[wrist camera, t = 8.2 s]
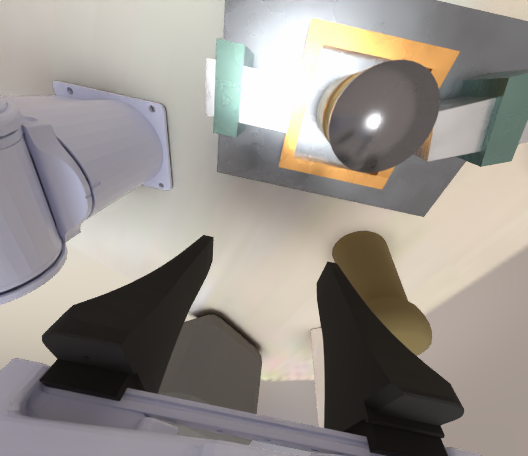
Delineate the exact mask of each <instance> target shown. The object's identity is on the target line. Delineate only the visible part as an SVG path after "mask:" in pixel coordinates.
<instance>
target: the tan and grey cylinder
mask: <svg viewBox="0 0 528 456" xmlns="http://www.w3.org/2000/svg"><path fill="white" fill-rule="evenodd" d="M439 107H440V93H439V88H438V84H437V82H436V80H435V78H434V76H433V75H432V73H431V72H430V71H429V70H428V69H427V68H426V67H424V66H423V65H421V64H419V63H417V62H414V61H410V60H391V61H387V62H383V63H380V64H377V65H374V66H372V67H370V68H368V69H366V70H364V71H361V72H358V73H354V74H350V75H347V76H344V77H341V78H339V79H338V80H336V81H335V82H333V83H332V84H331V85H330V86H329V87H328V88H327V89H326V91H325V92H324V94H323V95H322V97H321V99H320V102H319V104H318V108H317V123H318V126H319V129H320V131H321V132H322V134H323V135H324V136H325V138H326V139H327V141H328V142H329V143H330V146H331V148H332V150H333V152H334V154H335V155H336V157H337V158H338V159H339V160H340V161H341V162H342V163H343V164H344V165H345V166H347V167H348V168H350V169H352V170H355V171H358V172H365V173H373V172H380V171H384V170H387V169H390V168H392V167H395V166H396V165H398V164H400V163H402V162H403V161H405V160H406V159H408V158H409V157H410V156H411V155H413V154H414V153H415V152H416V151H417V150H418V149H419V148H420V147H421V146H422V144H423V143H424V142H425V140H426V139H427V138H428V136H429V134H430V133H431V131H432V129H433V127H434V125H435V122H436V120H437V116H438V113H439Z"/></svg>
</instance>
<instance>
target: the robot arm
mask: <svg viewBox="0 0 528 456" xmlns="http://www.w3.org/2000/svg"><path fill="white" fill-rule="evenodd" d="M52 85H53V89H54V92H55V95H37V96H1V95H0V305H1V304H4V303H7V302H10V301H12V300H14V299H17V298H19V297H22V296H23V295H26V294H27V293H30V292H32V291H33V290H35V289H37V288H38V287H40V286H41V285H43V284H45V283H46V282H47V281H48V280H50V279H51V278H52V277H53V276H55V274H57V273H58V272H59V270H60V269H61V268H62V266H63V265H64V263H65V261H66V258H67V247H66V244H65V242H67V241H68V240H70V239H71V238H73V237H74V236H76V235H77V234H79V233H80V232H81V231H80V225H81V223H82V222H83V221H85V220H86V219H88V218H89V217H91V216H93V215H94V214H96V213H97V212H99V211H101V210H102V209H104V208H105V207H107V206H108V205H110V204H112V203H113V202H115V201H116V200H118V199H120V198H121V197H123V196H124V195H126V194H128V193H129V192H131V191H132V190H134V189H136V188H137V187H139V186H140V185H143V186H148V187H153V188H157V189H162V190H166V191H168V190H170V189H171V188H172V179H171V167H170V156H169V145H168V133H167V122H166V111H165V108H164V106H163V105H162V104H160V103H156V102H152V101H147V100H142V99H138V98H133V97H129V96H124V95H120V94H115V93H111V92H106V91H102V90H97V89H93V88H88V87H84V86H79V85H74V84H70V83H65V82H61V81H54V82H53V84H52ZM71 89H72V90H73V93H72V91H71ZM151 106H153V107H154V108H155V112H154V111H153V110H152V108H151ZM161 183H162V184H163V185H164V186H162V185H161ZM213 238H214V237H210V236H206V235H203V236H202V237H200V238H199V239H198V240H197V241H196V242H194V243H193V244H192V245H191V246H189V247H188V248H187V249H186V250H184V251H183V252H182V253H180V254H179V255H178V256H176V257H175V258H173V259H172V260H170V261H169V262H167V263H166V264H164V265H163V266H161V267H160V268H158V269H156V270H155V271H153V272H151V273H149V274H148V275H146V276H144V277H142V278H140V279H138V280H136V281H134V282H132V283H130V284H128V285H125V286H123V287H121V288H118V289H116V290H114V291H111V292H109V293H107V294H104V295H101V296H98V297H96V298H93V299H90V300H87V301H84V302H81V303H78V304H76V305H73V306H72V307H71V308H70V309H69V310H67V311H66V312H65V313H64V314H63V315H62V316H61V317H60V318H59V319H58V320H57V321H56V322H55V323H54V324H53V325H52V326H51V327H50V328H49V329H48V330H47V331H46V332H45V333H44V334H43V335H42V341H43V343H44V344H45V346H46V347H47V348H48V349H49V350H50V351H51V352H52V353H53V354H54V355H55V357H56V358H57V360H56V362H55V363H54V364H53V365H52V366H51V367H50V366H48V365H45V364H42V363H38V362H34V361H29V360H24V359H19V358H15V359H12V360H11V361H10V362H9V363H8V364H7V365H6V366H5V367H4V368H3V369H2V370H1V371H0V456H297V455H293V454H288V453H283V452H278V451H273V450H268V449H263V448H258V447H253V446H248V445H243V444H238V443H233V442H227V441H221V440H211V439H203V438H196V437H188V436H180V435H178V434H177V433H178V427H177V426H174V425H171V424H176V425H181V426H186V427H191V428H196V429H201V430H206V431H211V432H216V433H221V434H225V435H230V436H235V437H240V438H245V439H250V440H256V441H260V442H265V443H270V444H275V445H280V446H285V447H289V448H295V449H300V450H305V451H309V452H314V453H311V455H310V456H482V455H481V454H479V453H477V452H473V451H468V450H463V449H458V448H452V447H444V445H443V443H442V440H441V438H444V433H443V431H442V428H441V426H440V425H442V424H445V423H448V422H451V421H453V420H456V419H458V418H460V417H461V416H462V415H463V413H464V408H463V406H462V405H461V403H460V401H459V399H458V397H457V395H456V393H455V392H454V390H453V388H452V387H451V384H450V383H449V382H447V381H446V380H445V379H444V378H442V377H441V376H440V375H439V374H438V373H436V372H435V371H434V370H432V369H431V368H430V367H429V366H427V365H426V364H425V363H424V362H423V361H422V360H420V359H419V358H418V357H417V356H416V355H415V354H414V353H412V352H411V351H410V350H409V349H408V348H407V347H406V346H405V345H404V344H403V343H402V342H400V341H399V340H398V339H397V338H396V337H395V336H394V335H393V334H392V333H391V332H390V331H389V330H388V329H387V328H386V326H385V325H384V324H383V323H382V322H381V321H380V320H379V319H378V318H377V317H376V315H375V314H374V313H373V312H372V311H371V310H370V308H369V307H368V306H367V305H366V303H365V302H364V301H363V300H362V298H361V297H360V296H359V294H358V293H357V291H356V290H355V289H354V287H353V286H352V284H351V283H350V281H349V280H348V279H347V277H346V276H345V274H344V273H343V271H342V270H341V268H340V267H339V265H338V264H337V263H332V262H327V264H326V266H325V268H324V270H323V272H322V274H321V276H320V278H319V280H318V282H317V302H318V309H319V316H320V322H321V329H322V336H323V350H324V382H325V402H324V428H321V427H316V426H312V425H306V424H302V423H296V422H291V421H287V420H282V419H277V418H272V417H268V416H263V415H258V414H253V413H248V412H243V411H238V410H233V409H228V408H223V407H219V406H214V405H209V404H204V403H199V402H194V401H189V400H184V399H179V398H175V397H170V396H165V395H160V394H158V392H159V389H160V386H161V383H162V380H163V377H164V374H165V371H166V369H167V366H168V363H169V360H170V358H171V355H172V352H173V349H174V347H175V344H176V342H177V339H178V336H179V334H180V331H181V329H182V326H183V324H184V321H185V319H186V316H187V314H188V312H189V309H190V307H191V305H192V303H193V301H194V300H195V298H196V296H197V294H198V292H199V290H200V288H201V286H202V284H203V282H204V280H205V278H206V276H207V274H208V272H209V269H210V266H211V263H212V259H213ZM169 423H171V424H169Z"/></svg>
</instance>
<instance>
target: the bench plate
mask: <svg viewBox="0 0 528 456" xmlns="http://www.w3.org/2000/svg"><path fill="white" fill-rule="evenodd" d="M391 60H410V61H414V62H417V63H419V64H421V65H423V66H424V67H426V68H427V69H428V70H429V71H430V72H431V73H432V75H433V76H434V78H435V80H436V82H437V84H438V88H439V93H440V107H439V113H438V116H437V120H436V122H435V125H434V127H433V129H432V131H431V133H430V134H429V136H428V138H427V139H426V140H425V142H424V143H423V144H422V146H421V147H420V148H419V149H418V150H417V151H416V152H415V153H414V154H413V155H411V156H410V157H409V158H408V159H406V160H405V161H403V162H402V163H400V164H398V165H396V166H395V167H392V168H390V169H387V170H384V171H380V172H373V173H365V172H358V171H355V170H352V169H350V168H348V167H347V166H345V165H344V164H343V163H342V162H341V161H340V160H339V159H338V158H337V157H336V155H335V154H334V152H333V150H332V148H331V146H330V143H329V142H328V141H327V139H326V138H325V136H324V135H323V134H322V132H321V131H320V129H319V126H318V123H317V108H318V104H319V102H320V99H321V97H322V95H323V94H324V92H325V91H326V89H327V88H328V87H329V86H330V85H331V84H332V83H333V82H335V81H336V80H338V79H339V78H341V77H344V76H347V75H350V74H354V73H358V72H361V71H364V70H366V69H368V68H370V67H372V66H374V65H377V64H380V63H383V62H387V61H391ZM206 115H208V116H212V117H214V128H213V133H218V134H219V141H218V162H217V172H220V173H224V174H229V175H234V176H238V177H243V178H247V179H252V180H257V181H261V182H266V183H270V184H275V185H280V186H284V187H289V188H293V189H298V190H303V191H307V192H312V193H316V194H321V195H326V196H330V197H335V198H339V199H344V200H349V201H353V202H358V203H362V204H367V205H372V206H376V207H381V208H385V209H390V210H395V211H399V212H404V213H408V214H413V215H417V216H422V217H424V216H425V215H426V213H427V212H428V211H429V209H430V208H431V207H432V205H433V204H434V203H435V201H436V200H437V199H438V197H439V196H440V195H441V194H442V192H443V191H444V190H445V188H446V187H447V186H448V184H449V183H450V182H451V180H452V179H453V178H454V176H455V175H456V174H457V172H458V171H459V170H460V168H461V167H462V166H463V165H464V163H465V162H466V161H468V162H470V163H473V164H475V165H478V166H480V167H482V166H487V165H493V164H498V163H504V162H509V161H512V159H513V156H514V153H515V151H516V148H517V146H518V144H521V143H526V142H528V21H524V20H520V19H515V18H511V17H506V16H502V15H498V14H493V13H489V12H485V11H480V10H476V9H472V8H467V7H463V6H459V5H454V4H450V3H446V2H441V1H437V0H225V15H224V36H223V40H221V39H217V38H216V60H214V59H209V58H206Z"/></svg>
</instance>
